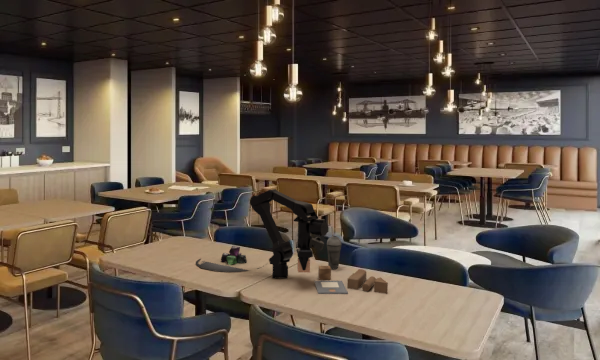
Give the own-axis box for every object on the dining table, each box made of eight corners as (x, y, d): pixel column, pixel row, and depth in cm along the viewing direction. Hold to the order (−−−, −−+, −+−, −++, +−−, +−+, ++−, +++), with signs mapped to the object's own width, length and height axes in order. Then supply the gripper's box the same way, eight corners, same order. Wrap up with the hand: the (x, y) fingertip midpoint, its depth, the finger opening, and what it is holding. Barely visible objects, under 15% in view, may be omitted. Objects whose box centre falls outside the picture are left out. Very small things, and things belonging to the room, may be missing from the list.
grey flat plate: (318, 293, 204) (318, 292, 204) (314, 281, 220) (314, 280, 219) (347, 293, 204) (347, 292, 204) (342, 282, 220) (342, 280, 220)
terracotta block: (298, 272, 216) (298, 260, 216) (297, 269, 221) (297, 257, 221) (309, 272, 216) (310, 260, 216) (308, 269, 221) (309, 258, 221)
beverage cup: (340, 270, 238) (341, 228, 236) (324, 269, 239) (325, 227, 237) (341, 266, 245) (343, 226, 243) (326, 265, 246) (328, 225, 244)
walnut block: (319, 279, 223) (319, 268, 223) (318, 276, 228) (318, 265, 228) (330, 279, 224) (331, 268, 223) (329, 276, 228) (329, 265, 228)
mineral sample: (280, 266, 244) (280, 247, 244) (213, 276, 225) (213, 255, 224) (246, 255, 273) (246, 238, 273) (184, 263, 253) (184, 245, 253)
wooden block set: (346, 276, 211) (358, 266, 227) (346, 289, 211) (357, 278, 228) (387, 281, 204) (395, 270, 221) (386, 295, 205) (395, 283, 222)
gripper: (325, 237, 208) (324, 274, 210) (320, 228, 227) (320, 262, 228) (298, 237, 208) (297, 274, 209) (296, 228, 226) (295, 262, 228)
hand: (303, 268), depth 219 cm, fingers closed on terracotta block, 5 cm apart
